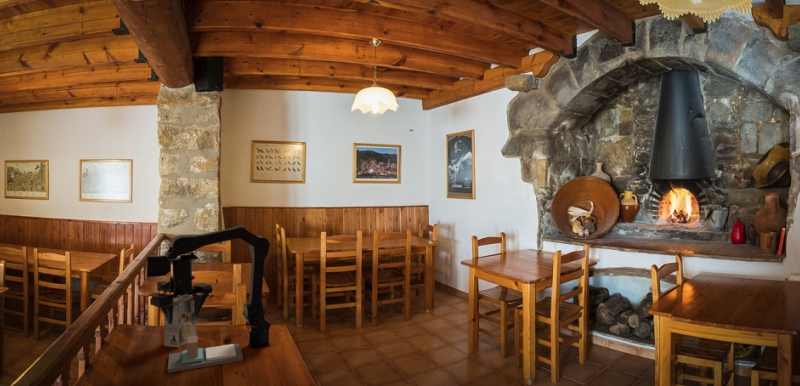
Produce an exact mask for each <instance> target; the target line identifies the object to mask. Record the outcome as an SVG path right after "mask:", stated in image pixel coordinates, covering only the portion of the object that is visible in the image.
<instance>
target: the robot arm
mask: <svg viewBox="0 0 800 386" xmlns="http://www.w3.org/2000/svg"><path fill="white" fill-rule="evenodd" d="M236 239H239V240H240V239H241V240H242V241H243V242H246V243H247V244H249V245H248V246H249V253H250V256H251V269H250V284H249V285H250V286H249V296H248V301H247V303H243V304H242V306H243V309H242V313H241V315H242V316H243V318H244V320H245V321H246V322H247V323H248V325H250V328H249V331H248V333H247V334H248V337H247V338H248V341H247V342H248V345H249V347H250V348H251V349H254V348H261V347H267V346H268V347H269V346H270V345H271V343H270V328H271V326H272V324H271V323H270V321H269V320H268V318H266V317H265V309H264V305H263V300H262V299H263V287H264V286H263V285H264V272H265V262H266V259H267V257H268V255H269V251H270V247H271V244H270V240H268V239H267V238H266V237H264V236H262V235H258V234H257V235H256V234H254V233H252V232H251V231H249V230H247V229H246V228H245V227H244V226H241V225H236V226H234V227H233V226H232V227H230V228H225V229H224V228H223V229H220V230H216V231H211V232H206V233H201V234H180V235H176V236H174V238H173V239H172V240H171V246H170V247H169V249H168V250H166V252H165V254H163V255H147V256H146V265H145V269H146V271H145V273H146V278H147V279H149V278H155V277H163V276H165V277H166V276H167V275H168V274H169V273H171V271H172V276H170V277H169V281H167V282H166V280H161V281H157V283H156V288H157V291H158V292H162V293H159V294H155V295H152V296H151V297H150V301H149V302H150V306H153V307H155V308H156V307H157V308H159V309H160V310H161V312H162V313H163V315H165V317H166V319H167V321H168V324H170V325H171V324H172V320H173V308H174V305H171V304H172V302H173V300H175V299H179V298H182V297H186V296H193V299H194V314H195V316H196V317H198V315H199V313H200V311H201V309H202V307H203V305H204V304H205V302H206V300H207V298H208V297H209V296H210V294H213V285H211V284H210V283H209V284H208V283H204V282H202V283H198V284H194V285H193V280H195V279H196V277H195V275H193V266H192V265H193V260H194V261H195V260H199V257H198V256H197V255H196V254H195V253H194V251H197V250H199V249H201V248H203V247H206V246H210V245H214V244H219V243H222V242H228V241H231V240H232V241H233V240H236ZM171 263H172V264H171ZM171 267H172V268H171ZM171 269H172V270H171ZM168 293H169V294H168Z"/></svg>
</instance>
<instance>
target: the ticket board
mask: <svg viewBox="0 0 800 386" xmlns="http://www.w3.org/2000/svg"><path fill="white" fill-rule="evenodd" d="M202 349H203V361H197V362H191V363H184V364H182V356H183V351H181V352H173V353H169V354H168V355H169V356H168V363H167V364H168V365H167V374H168V373H174V372H175V373H176V372H182V371H188V370H193V369H199V368H206V367H212V366H217V365H223V364H224V365H225V364H229V363H235V362H242V361H243V360H244V356H243V352H242V349H241V346H240V343H235V344H234V343H231V344H230V343H229V344H225V345H224V344H223V345H218V346H211V347H205V348H202Z"/></svg>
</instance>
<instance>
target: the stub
mask: <svg viewBox="0 0 800 386" xmlns="http://www.w3.org/2000/svg"><path fill="white" fill-rule="evenodd" d="M198 338H199V336H198V335H196V336H191V337H188V343H187V349H184V350H182V352H183V356H182V364H184V363H191V362H197V361H203V349H204V348H203V347H199V339H198Z"/></svg>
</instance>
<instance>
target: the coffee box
mask: <svg viewBox="0 0 800 386" xmlns="http://www.w3.org/2000/svg"><path fill="white" fill-rule="evenodd" d="M171 305H174V308H173V320H172V324H171V325H170V324H168V321H167V319H166V317H165V315H164V314H163V315H164V317H163V321H164V323H163V325H164V326H163V327H164V331H163V332H164V341H163V342H164V347H171V348H181V347H182V346H184V345H186V344H188V337H191V336H197V316H195V314H194V299H193V296H192V295H189V296H186V297H182V298H179V299H175V300H173V302H172V304H171Z"/></svg>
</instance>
